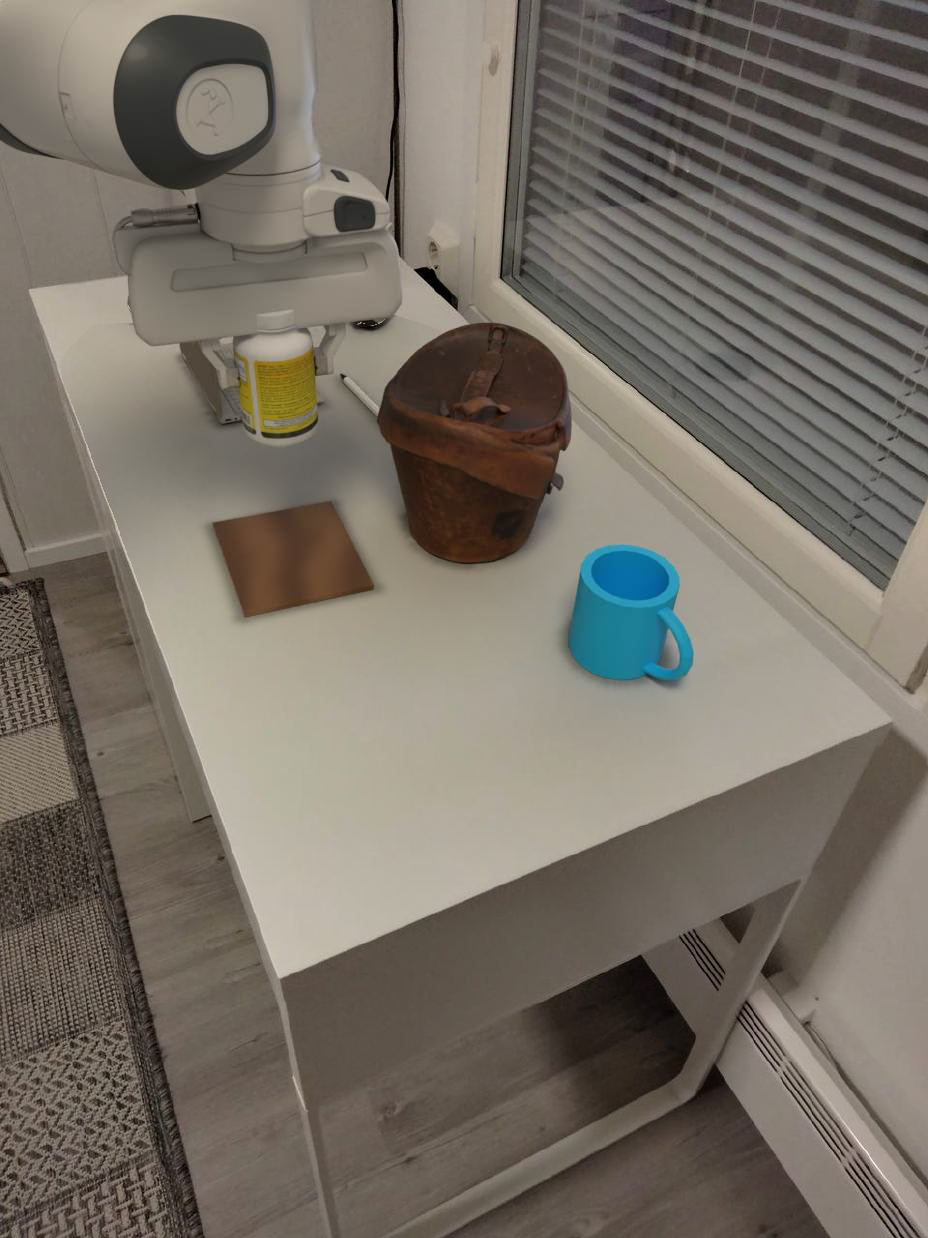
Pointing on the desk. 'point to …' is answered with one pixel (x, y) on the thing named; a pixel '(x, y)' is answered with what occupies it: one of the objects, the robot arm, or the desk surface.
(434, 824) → the desk surface
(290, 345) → the pill bottle
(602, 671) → the mug
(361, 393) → the pen
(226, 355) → the laptop
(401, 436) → the case
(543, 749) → the desk surface
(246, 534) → the brown wooden coaster
